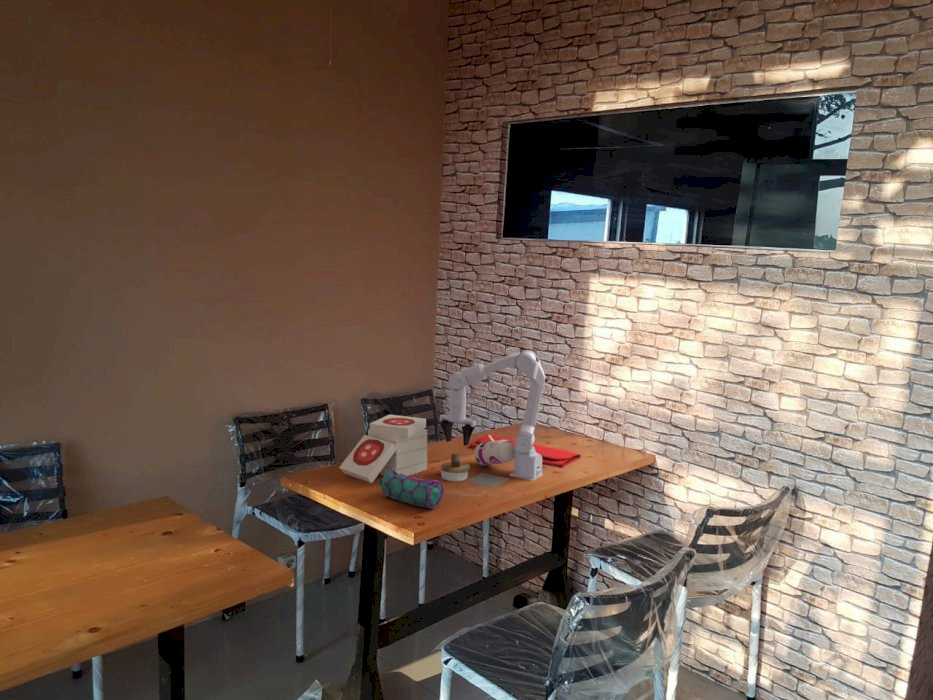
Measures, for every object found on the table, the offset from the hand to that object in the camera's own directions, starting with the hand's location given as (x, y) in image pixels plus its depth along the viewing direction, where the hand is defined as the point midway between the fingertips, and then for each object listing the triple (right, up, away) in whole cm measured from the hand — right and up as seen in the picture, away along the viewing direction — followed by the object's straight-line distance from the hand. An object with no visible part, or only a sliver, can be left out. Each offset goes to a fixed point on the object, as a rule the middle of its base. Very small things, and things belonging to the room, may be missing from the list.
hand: (457, 443), depth 260 cm
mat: (+10, -12, -9) cm, 18 cm away
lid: (-1, -8, -7) cm, 11 cm away
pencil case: (-14, -15, -30) cm, 37 cm away
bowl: (-1, -11, -6) cm, 13 cm away
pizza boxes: (-25, -11, -3) cm, 27 cm away
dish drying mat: (+26, -8, +24) cm, 36 cm away
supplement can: (+9, -5, +8) cm, 13 cm away
